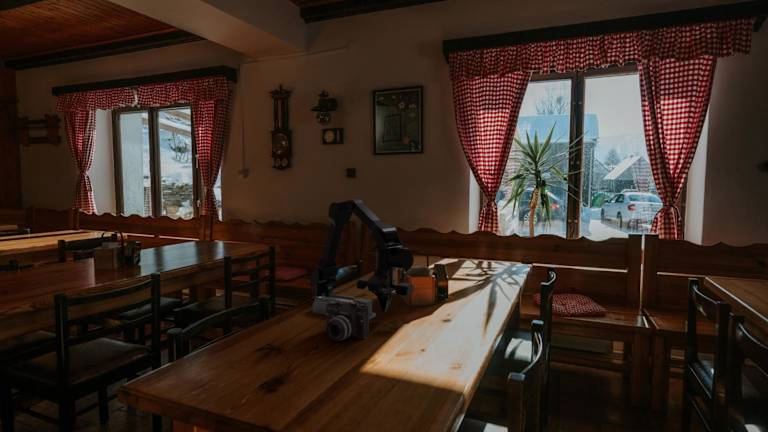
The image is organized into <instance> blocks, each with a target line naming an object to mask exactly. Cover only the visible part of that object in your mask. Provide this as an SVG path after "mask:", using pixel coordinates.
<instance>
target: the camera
mask: <svg viewBox="0 0 768 432" xmlns="http://www.w3.org/2000/svg"><path fill="white" fill-rule="evenodd" d="M325 316H326V317H325V318H326V322H325V323H326V324H325V325H326V326H325V327H326V333H327V336H328V338H329V339H331V340H332V341H335V342H340V341H343V340H346V339H348V338H349V337H351V338H355V339H361V340H366V339H368V338H369V333H370V331H369V330H370V325H369V324H370V320H369V318H368V307H367V306H365V304H361V305H360V304H359V305H358V306H357V303H356V302H351V301H350V302H347V303H346V302H340V300H338V302H336V301H330V302H328V304H327V305H326V315H325Z"/></svg>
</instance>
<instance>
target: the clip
mask: <svg viewBox="0 0 768 432" xmlns="http://www.w3.org/2000/svg"><path fill="white" fill-rule="evenodd" d="M353 302H356V303H358V304H359V306H360V305H361V304H365V306H367V307H368V315H369V314H371V313H373V300H372V299H369V298H361V297H360V298H359V297H356V299H355V300H353Z"/></svg>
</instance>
